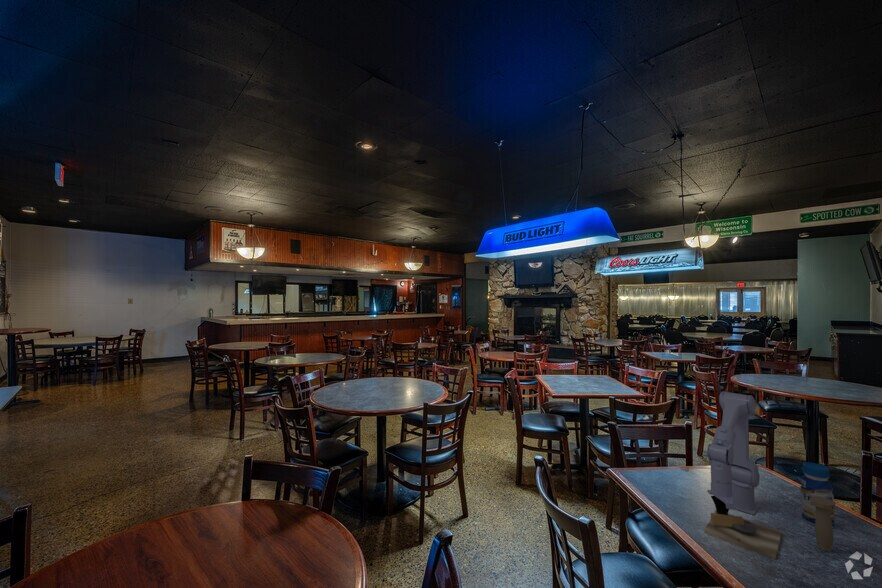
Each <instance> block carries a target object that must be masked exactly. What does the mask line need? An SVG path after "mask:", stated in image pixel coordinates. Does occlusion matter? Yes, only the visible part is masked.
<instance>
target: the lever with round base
mask: <svg viewBox="0 0 882 588" xmlns="http://www.w3.org/2000/svg"><path fill="white" fill-rule="evenodd" d="M732 515H733V514H731V515H723V514H717V513H715V512H710V519H711V522H712V523H713V524H716V525H723V526H731V527H733V528H735V529H737V530H739V531H742V532H745V533H756V526H755V525H754V524H752V523H751V522H749V521H750V520H749V521H746V520H747V519H746V520H744V519H745V518H743V517H742V516H739V515H734V516H732Z"/></svg>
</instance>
